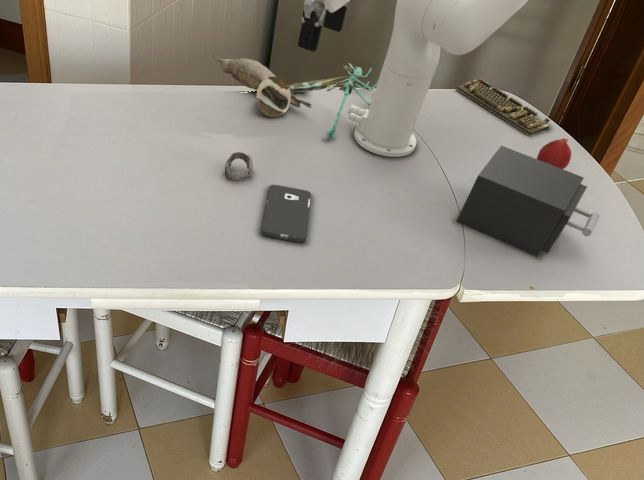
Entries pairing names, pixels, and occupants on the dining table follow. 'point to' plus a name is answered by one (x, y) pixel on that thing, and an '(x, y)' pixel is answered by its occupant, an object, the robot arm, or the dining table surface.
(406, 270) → the dining table surface
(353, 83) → the insect sculpture
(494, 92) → the keyboard
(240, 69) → the bird model
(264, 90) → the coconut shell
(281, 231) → the cell phone
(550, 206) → the dark grey box
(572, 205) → the drawer
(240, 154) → the wristwatch
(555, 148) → the onion
